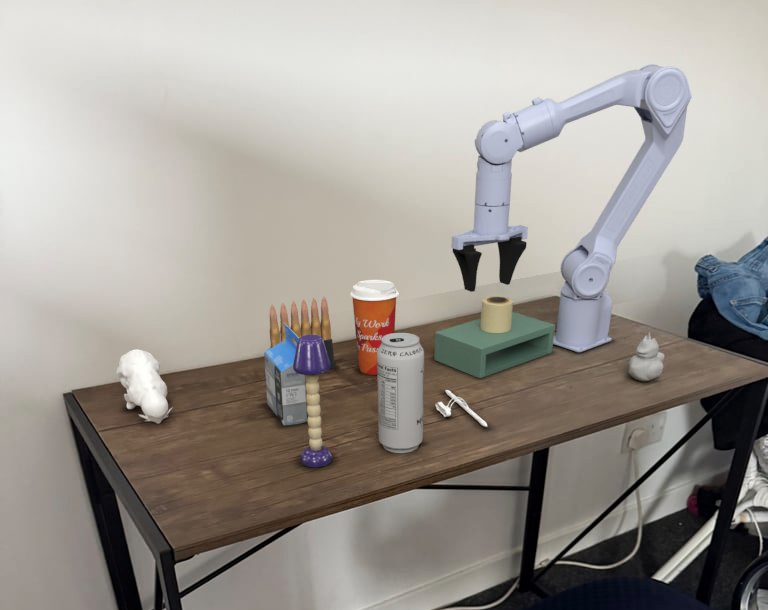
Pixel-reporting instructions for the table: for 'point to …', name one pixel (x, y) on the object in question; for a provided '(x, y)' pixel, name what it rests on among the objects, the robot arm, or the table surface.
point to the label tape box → (285, 382)
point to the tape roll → (496, 314)
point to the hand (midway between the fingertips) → (487, 286)
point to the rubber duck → (646, 360)
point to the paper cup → (373, 319)
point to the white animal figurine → (143, 384)
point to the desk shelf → (493, 345)
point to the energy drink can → (400, 392)
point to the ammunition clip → (303, 325)
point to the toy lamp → (313, 395)
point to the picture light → (446, 410)
